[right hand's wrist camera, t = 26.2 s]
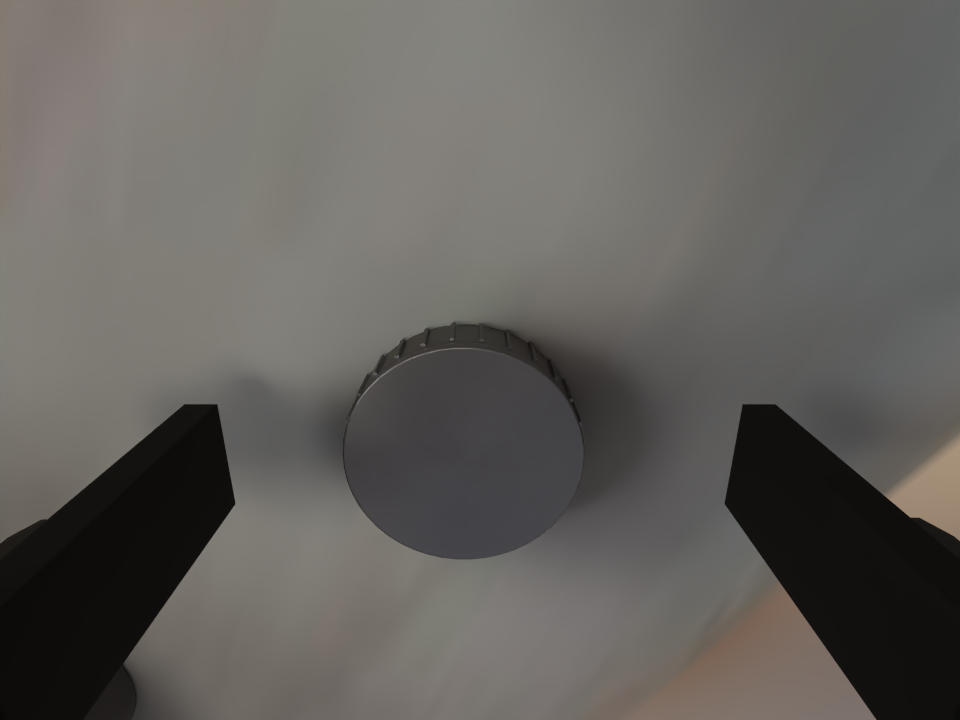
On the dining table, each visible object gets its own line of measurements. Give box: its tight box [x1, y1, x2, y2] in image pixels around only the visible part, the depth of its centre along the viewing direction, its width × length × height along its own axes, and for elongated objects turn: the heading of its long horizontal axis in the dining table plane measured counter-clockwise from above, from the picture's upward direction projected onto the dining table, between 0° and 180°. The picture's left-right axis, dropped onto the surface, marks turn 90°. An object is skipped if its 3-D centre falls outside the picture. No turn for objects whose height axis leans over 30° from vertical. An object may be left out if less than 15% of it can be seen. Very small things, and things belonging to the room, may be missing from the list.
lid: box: [343, 323, 584, 559], centre depth 14 cm, size 6×6×2 cm
